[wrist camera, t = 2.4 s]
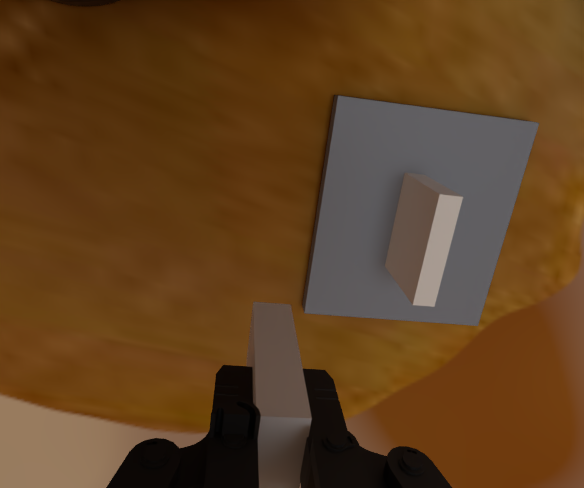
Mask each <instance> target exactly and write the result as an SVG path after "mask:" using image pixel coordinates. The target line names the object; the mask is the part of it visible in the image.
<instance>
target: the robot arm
mask: <svg viewBox="0 0 584 488" xmlns="http://www.w3.org/2000/svg"><path fill="white" fill-rule="evenodd" d="M51 1H55V2H58V3H62V4H67V5H75V6H98V5H105V4H110V3H114V2H117V1H120V0H51ZM300 483H301V488H452V487H451V486H450V484H449V483H448V482H447V480H446V479H445V478H444V476H443V475H442V474H441V472H440V471H439V470H438V469H437V467H436V466H435V465H434V463H433V462H432V461H431V460H430V459H429V458H428V457H427V456H426V455H425V454H424V453H422V452H420V451H418V450H417V449H413V448H410V447H401V446H399V447H396V448H393V449H392V450H391V451H390V452H389V453H388V455H387V456H384V455H380V454H377V453H374V452H371V451H368V450H366V449H364V448H362V447H361V446H359V443H358V441H357V440H356V438H355V437H354V436H353V435H352V434H351V433H350V432H349V431H347V428H346V423H345V420H344V416H343V413H342V409H341V406H340V402H339V401H338V395H337V392H336V388H335V384H334V381H333V379H332V378H331V377H330V375H329V374H328V373H327V372H326V371H325V370H316V369H302V363H301V358H300V352H299V347H298V342H297V336H296V331H295V326H294V320H293V315H292V310H291V305H289V304H276V303H263V302H253V310H252V319H251V327H250V336H249V344H248V353H247V366H231V365H223V366H222V367H221V369H220V370H219V371H218V372H217V374H216V381H215V390H214V399H213V409H212V413H211V422H210V430H209V432H208V434H207V435H206V437H205V438H204V439H202V440H201V441H200V442H198V443H196V444H194V445H191V446H188V447H184V448H179V447H177V446H176V445H175V444H174V443H173V442H171V441H169V440H166V439H159V438H154V439H150V440H145V441H143V442H141V443H139V444H137V445H136V446H135V447H134V448H133V449H132V450H131V451H130V452H129V454H128V455H127V457H126V458H125V460H124V461H123V463H122V465H121V466H120V467H119V469H118V471H117V472H116V474H115V475H114V477H113V478H112V480H111V481H110V483H109V485H108V486H107V487H106V488H299V487H300Z"/></svg>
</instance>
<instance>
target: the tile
mask: <svg viewBox="0 0 584 488" xmlns="http://www.w3.org/2000/svg"><path fill="white" fill-rule="evenodd" d="M462 199H463V196H461V195H459V194H457V193H456V192H454V191H452V190H450V189H448V188H447V187H445V186H443V185H441V184H440V183H438V182H436V181H434V180H433V179H431V178H429V177H427V176H426V175H422V174H413V173H405V174H404V179H403V183H402V188H401V193H400V197H399V202H398V207H397V211H396V216H395V221H394V225H393V230H392V235H391V239H390V244H389V249H388V253H387V258H386V263H385V267H386V268H387V270H388V271H389V273H390V274H391V275H392V277H393V278H394V280H395V281H396V282H397V284H398V285H399V287H400V288H401V289H402V291H403V292H404V294H405V295H406V296H407V298H408V299H409V301H410V302H411V303H412V305H418V306H431V307H434V306H435V302H436V299H437V295H438V291H439V287H440V283H441V280H442V276H443V272H444V268H445V264H446V261H447V257H448V253H449V249H450V245H451V241H452V238H453V234H454V230H455V226H456V222H457V219H458V215H459V211H460V207H461V203H462Z"/></svg>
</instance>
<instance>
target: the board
mask: <svg viewBox="0 0 584 488" xmlns="http://www.w3.org/2000/svg"><path fill="white" fill-rule="evenodd" d="M538 125H539V123H537V122H531V121H524V120H516V119H509V118H502V117H494V116H487V115H479V114H472V113H465V112H457V111H450V110H443V109H435V108H428V107H420V106H413V105H406V104H398V103H391V102H384V101H376V100H369V99H361V98H354V97H347V96H339V95H334V102H333V108H332V115H331V121H330V128H329V134H328V141H327V148H326V154H325V161H324V167H323V174H322V180H321V187H320V193H319V200H318V206H317V213H316V219H315V226H314V232H313V239H312V245H311V252H310V258H309V265H308V272H307V278H306V285H305V291H304V298H303V304H302V306H303V310H304V313H309V314H323V315H336V316H350V317H364V318H378V319H392V320H406V321H420V322H434V323H447V324H461V325H475V326H478V323H479V320H480V317H481V313H482V310H483V307H484V304H485V300H486V297H487V294H488V290H489V287H490V284H491V280H492V277H493V274H494V270H495V267H496V264H497V261H498V257H499V254H500V251H501V247H502V244H503V241H504V237H505V234H506V231H507V228H508V224H509V221H510V218H511V214H512V211H513V208H514V204H515V201H516V198H517V194H518V191H519V188H520V185H521V181H522V178H523V175H524V171H525V168H526V165H527V161H528V158H529V155H530V151H531V148H532V145H533V142H534V138H535V135H536V132H537V128H538ZM405 173H413V174H422V175H426V176H427V177H429V178H431V179H433V180H434V181H436V182H438V183H440V184H441V185H443V186H445V187H447V188H448V189H450V190H452V191H454V192H456V193H457V194H459V195H461V196H463V199H462V203H461V207H460V211H459V215H458V219H457V222H456V226H455V230H454V234H453V238H452V241H451V245H450V249H449V253H448V257H447V261H446V264H445V268H444V272H443V276H442V280H441V283H440V287H439V291H438V295H437V299H436V302H435V306H434V307H431V306H418V305H412V303H411V302H410V301H409V299H408V298H407V296H406V295H405V294H404V292H403V291H402V289H401V288H400V287H399V285H398V284H397V282H396V281H395V280H394V278H393V277H392V275H391V274H390V273H389V271H388V270H387V268H386V267H385V263H386V258H387V253H388V249H389V244H390V239H391V235H392V230H393V225H394V221H395V216H396V211H397V207H398V202H399V197H400V193H401V188H402V183H403V179H404V174H405Z"/></svg>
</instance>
